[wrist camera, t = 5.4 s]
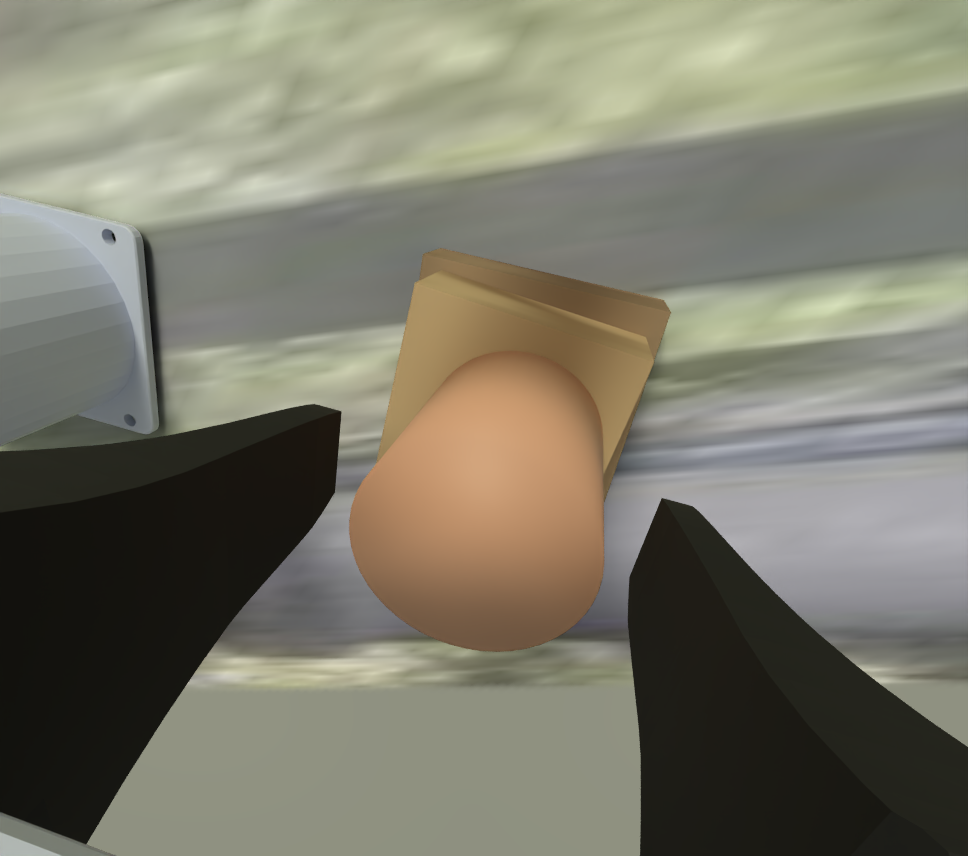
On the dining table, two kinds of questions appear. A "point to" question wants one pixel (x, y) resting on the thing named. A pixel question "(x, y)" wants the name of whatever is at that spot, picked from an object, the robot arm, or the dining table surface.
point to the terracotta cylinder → (489, 507)
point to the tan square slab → (564, 305)
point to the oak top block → (510, 349)
